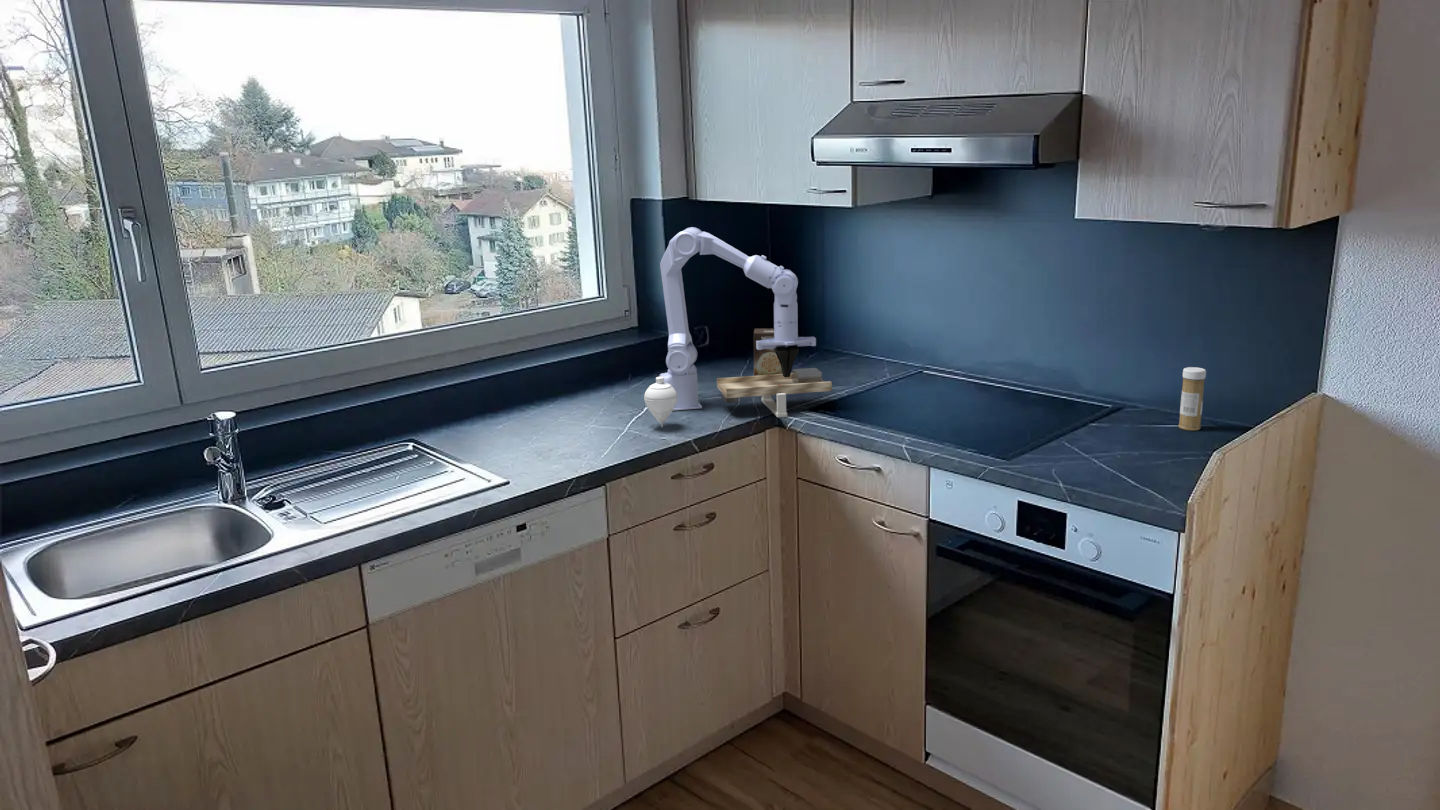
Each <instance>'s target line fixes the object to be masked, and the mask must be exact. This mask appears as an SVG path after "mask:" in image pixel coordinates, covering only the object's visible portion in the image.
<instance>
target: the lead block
mask: <svg viewBox="0 0 1440 810" xmlns="http://www.w3.org/2000/svg"><path fill="white" fill-rule="evenodd" d="M791 373H792V381H793V382H794V383H795V384H799V383H814V382H822V380H823V377H822V376H823V372H822V371H820V370H819V369H818V368H817V367H807V368H795V369H793V368H792V370H791Z"/></svg>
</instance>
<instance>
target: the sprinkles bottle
mask: <svg viewBox="0 0 1440 810" xmlns="http://www.w3.org/2000/svg"><path fill="white" fill-rule="evenodd" d="M1206 378H1207V370H1206V369H1205V368H1202V367H1195V366H1194V367H1193V366H1188V367H1184V368H1183V370H1182V388H1181V397H1180V407H1179V423H1178V428H1179V429H1181V430H1184V431H1199V430H1200V429H1201V428H1202V426H1201V422H1202V415H1203V414H1202V413H1203V403H1204V400H1203V399H1204V389H1205V380H1206Z"/></svg>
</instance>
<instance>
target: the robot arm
mask: <svg viewBox="0 0 1440 810" xmlns="http://www.w3.org/2000/svg"><path fill="white" fill-rule="evenodd" d="M697 253H699V255H700V256H702V255H703V256H705V255H715V256H717V257H719V258H721V259H722V260H724V261H727V262H729V263H731V264H733V265H735V266H737V267H739V268H741V269H742V270H743V273H744V275H745V277H747V278H748V279H750V280H752V281H754V282H756V283H758V284H759V285H761V286H763V287H765V288H767V289H771V290H772V292H773V294H774V302H773V329H774V338H773V339H767V340H759V341H756V349H758V350H762V349H770V348H774V351H775V353H776V355H777V357H778V359H779V362H780V365H781V369H782V373H783V376H784V377H790V375H791V373H792V369H793V366H794V362H795V360H796V358H797V356H798V354H799V350H800V348H799V347H808V346H809V347H810V346H811V347H816V346H817V337H815V336H799V334H798V333H799V332H798V331H799V329H798V327H799V325H798V323H799V322H798V319H799V318H798V317H799V315H798V311H799V310H798V309H799V308H798V302H797V301H798V294H797V288H798V284H799V279H798V277H797V275H796V274H795V273H794V272H793V271H792V270H790V269H785V267H784V266H783V265H780V266H778V265H776V264H774V263H772V262H771V261H770V260H767V256H765V255H763V254H762V255H761V256H760V255H757V254H755V255H752V256H748V255H747V254H746V253H744V252H742V251H741V250H739V249H737V248H735V247H734V246H732V245H730V244H728V243H726V241H724V240H722V239H720V238H718V237H716V236H714V235H713V234H711V233H710V232H706V231H702V230H701V229H699V228H697V227H693V226H691V227H687V228H685V229H684V230H682V231H679V232H677V234H675V235H674V236H673V237H672V238H671V239H670V240H669V242H668V246H667V248H666V250H665V252H664V254H663V256H662V257H661V260H660V266H659V267H660V274H661V281H662V291H663V298H664V306H665V315H666V321H667V331H668V341H667V351H668V352H667V355H666V357H665V364H666V367H667V368H668V369H667V372H664V373H663V372H662V373H660V374H659V376H658V377H664V383H668V384H670V385H671V386H672V387H673V388H674V389H675V391H676V393H677V402H676V405H675V407H674V409H673V411H672V412H674V411H684V410H685V411H686V410H697V409H702V408H703V405H701V403H700V401H699V392H698V371H697V370H698V369H697V367H696V366H695V364H694V363H695V362H696V361H697V360H698V359H697V358H698V351H697V348H696V346H695V345H694V344H693V338H692V335H691V333H690V330H689V329H690V328H689V322H688V321H689V320H688V313H687V305H686V298H685V297H686V296H685V289H684V281H683V273H682V272H683V271H682V268H683V267H684V266H685V265H686V264H687V262H688V261H689V259H691V257H693V256H694V255H696V254H697Z"/></svg>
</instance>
